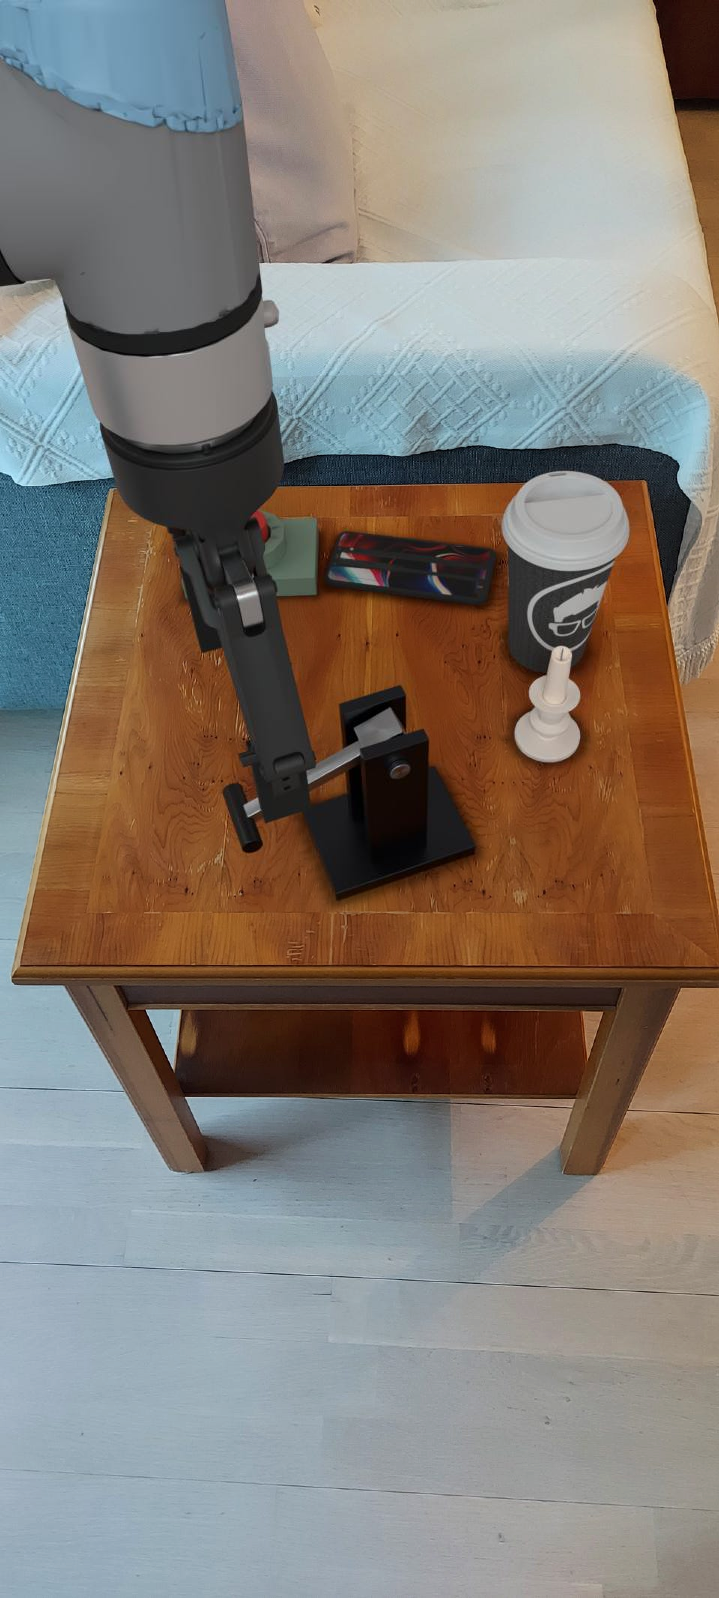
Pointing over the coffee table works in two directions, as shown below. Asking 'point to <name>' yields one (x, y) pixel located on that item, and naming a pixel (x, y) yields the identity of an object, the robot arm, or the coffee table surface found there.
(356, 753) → the lever
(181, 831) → the coffee table surface
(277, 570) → the button box
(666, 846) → the coffee table surface
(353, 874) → the bracket
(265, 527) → the button
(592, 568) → the coffee cup
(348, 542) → the smartphone
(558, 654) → the candle
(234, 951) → the coffee table surface
